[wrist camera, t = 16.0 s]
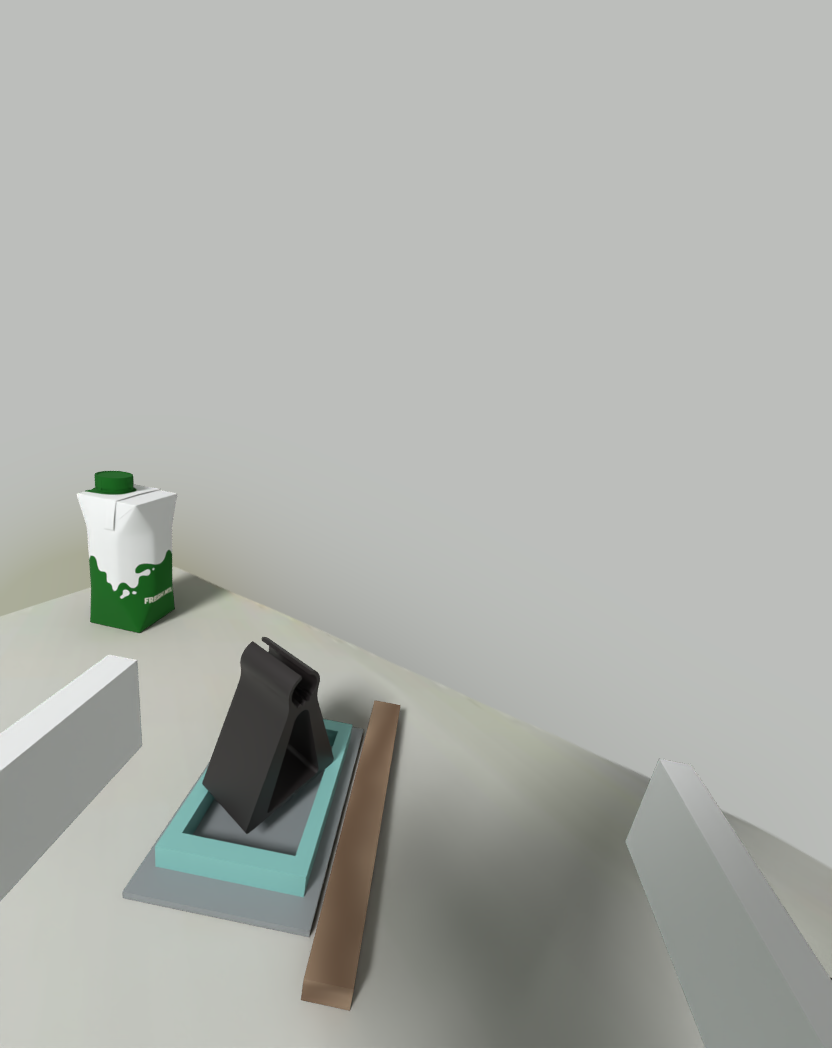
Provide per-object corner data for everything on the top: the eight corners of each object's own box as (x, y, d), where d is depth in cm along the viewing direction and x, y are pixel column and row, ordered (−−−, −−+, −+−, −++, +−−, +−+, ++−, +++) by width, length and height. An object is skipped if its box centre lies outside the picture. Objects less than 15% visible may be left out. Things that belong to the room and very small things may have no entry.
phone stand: (291, 726, 41) (301, 620, 38) (333, 762, 38) (348, 650, 35) (201, 786, 34) (203, 661, 30) (244, 836, 31) (252, 704, 27)
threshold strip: (397, 719, 48) (400, 705, 47) (349, 1010, 25) (353, 989, 24) (372, 714, 48) (374, 700, 47) (301, 999, 25) (303, 979, 24)
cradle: (362, 733, 45) (365, 714, 44) (308, 937, 28) (312, 910, 27) (246, 710, 46) (247, 691, 45) (122, 897, 28) (121, 870, 28)
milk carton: (129, 595, 63) (124, 466, 57) (185, 607, 63) (185, 478, 57) (77, 624, 55) (65, 476, 49) (141, 638, 54) (136, 490, 48)
